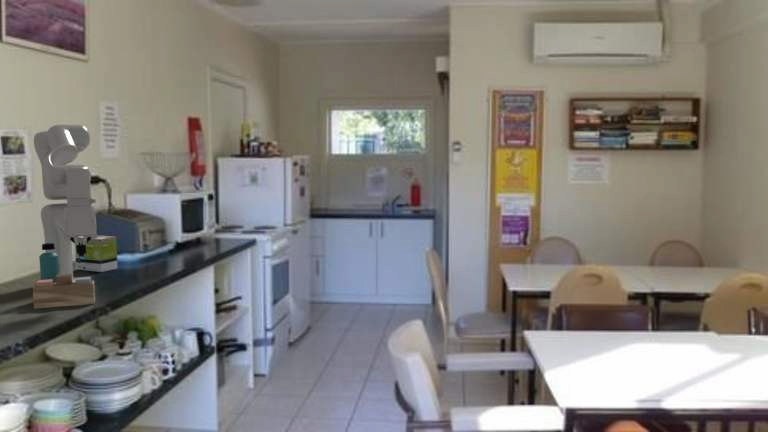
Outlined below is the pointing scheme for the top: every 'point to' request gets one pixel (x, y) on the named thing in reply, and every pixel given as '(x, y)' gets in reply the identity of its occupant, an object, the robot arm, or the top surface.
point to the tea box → (98, 254)
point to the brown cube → (64, 279)
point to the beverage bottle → (49, 263)
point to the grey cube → (83, 280)
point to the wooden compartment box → (64, 295)
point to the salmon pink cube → (44, 283)
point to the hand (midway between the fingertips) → (81, 255)
